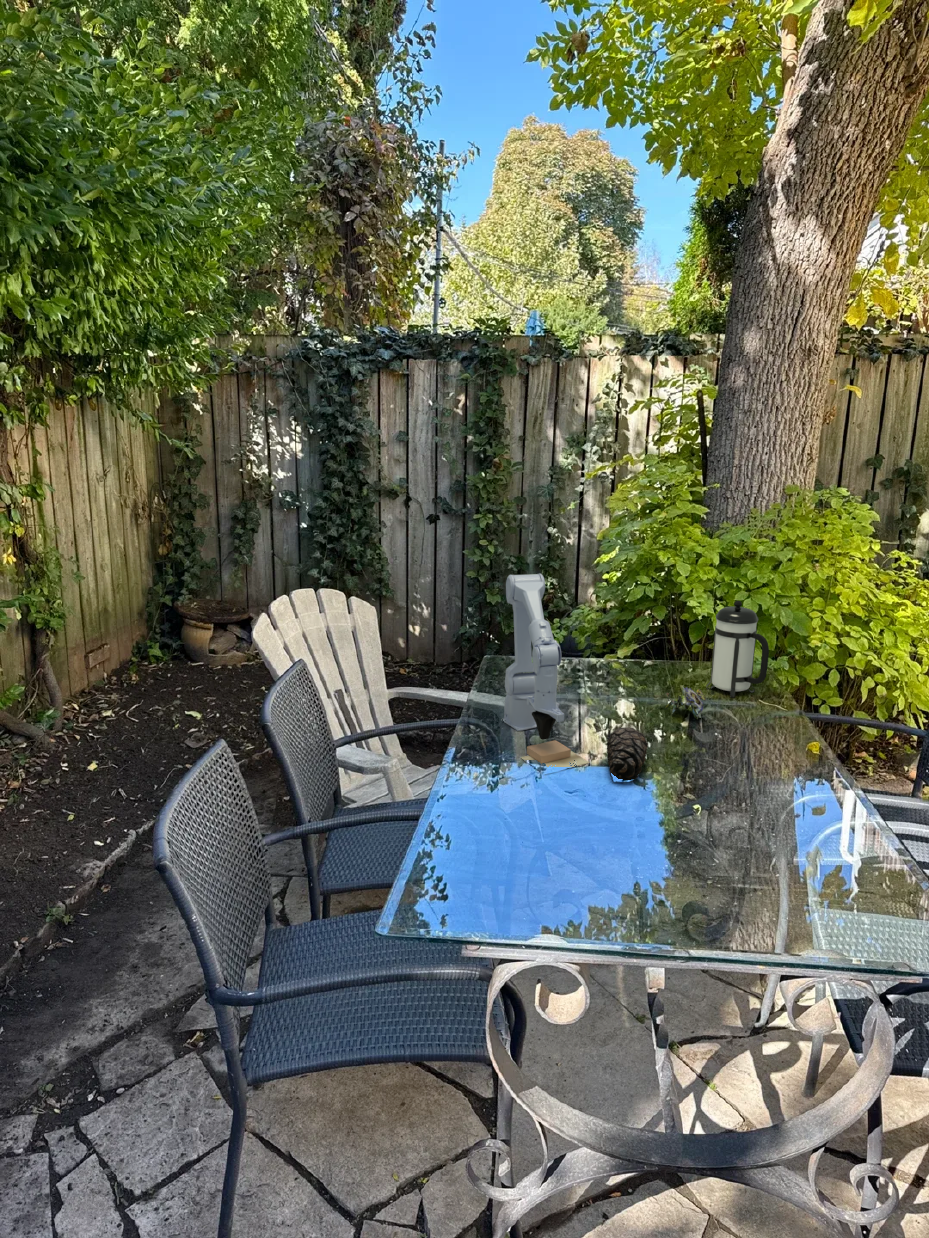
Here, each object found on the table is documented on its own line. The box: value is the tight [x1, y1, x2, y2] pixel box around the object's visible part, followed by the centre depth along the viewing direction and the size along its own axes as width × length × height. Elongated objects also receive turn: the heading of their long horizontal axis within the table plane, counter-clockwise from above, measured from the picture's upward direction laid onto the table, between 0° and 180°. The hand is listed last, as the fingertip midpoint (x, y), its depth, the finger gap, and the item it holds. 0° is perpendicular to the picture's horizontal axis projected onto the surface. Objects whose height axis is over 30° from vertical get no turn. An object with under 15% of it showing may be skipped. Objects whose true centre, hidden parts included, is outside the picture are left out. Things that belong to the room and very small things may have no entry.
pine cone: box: [606, 726, 649, 780], centre depth 198 cm, size 10×18×10 cm, turn 172°
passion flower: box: [665, 684, 707, 720], centre depth 235 cm, size 11×11×12 cm
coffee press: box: [706, 600, 770, 699], centre depth 253 cm, size 17×16×30 cm
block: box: [526, 739, 572, 764], centre depth 207 cm, size 2×9×7 cm
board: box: [520, 750, 591, 768], centre depth 205 cm, size 11×14×1 cm
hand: (544, 738), depth 208 cm, fingers closed
